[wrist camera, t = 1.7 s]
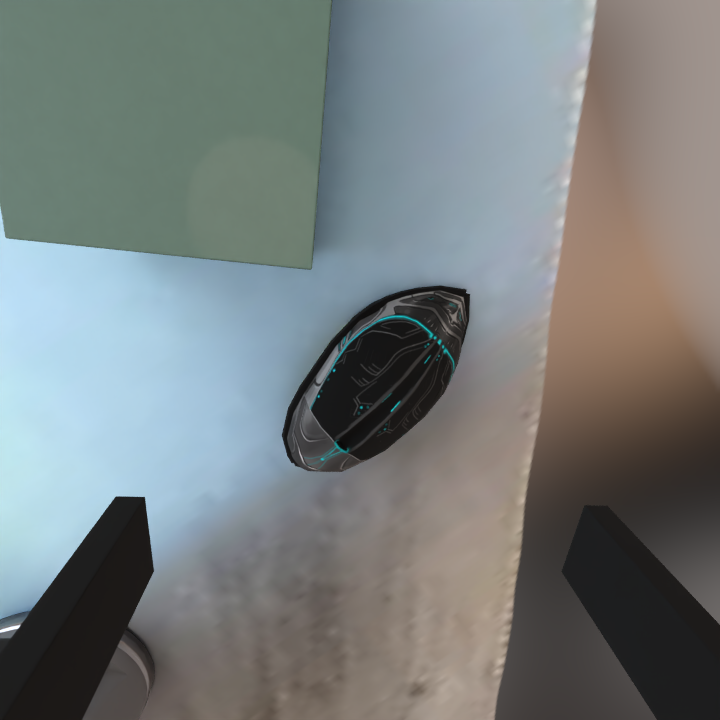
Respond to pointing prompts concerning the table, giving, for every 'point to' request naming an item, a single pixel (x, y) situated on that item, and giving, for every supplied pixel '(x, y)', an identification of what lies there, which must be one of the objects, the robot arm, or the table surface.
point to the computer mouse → (377, 378)
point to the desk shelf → (164, 125)
